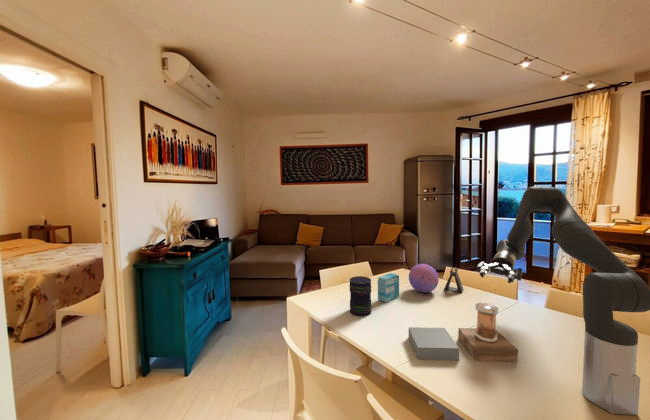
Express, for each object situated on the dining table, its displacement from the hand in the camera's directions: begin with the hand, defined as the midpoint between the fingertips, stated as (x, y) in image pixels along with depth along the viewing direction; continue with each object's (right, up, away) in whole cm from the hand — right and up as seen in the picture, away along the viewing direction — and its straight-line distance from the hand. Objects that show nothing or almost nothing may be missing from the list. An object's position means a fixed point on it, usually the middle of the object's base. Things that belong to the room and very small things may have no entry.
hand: (495, 277), depth 100 cm
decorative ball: (-10, -19, +47) cm, 51 cm away
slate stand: (-25, -23, -5) cm, 35 cm away
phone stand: (+8, -19, +49) cm, 53 cm away
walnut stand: (-7, -23, -6) cm, 25 cm away
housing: (-7, -19, -7) cm, 21 cm away
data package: (-30, -20, +38) cm, 53 cm away
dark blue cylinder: (-46, -22, +24) cm, 57 cm away
